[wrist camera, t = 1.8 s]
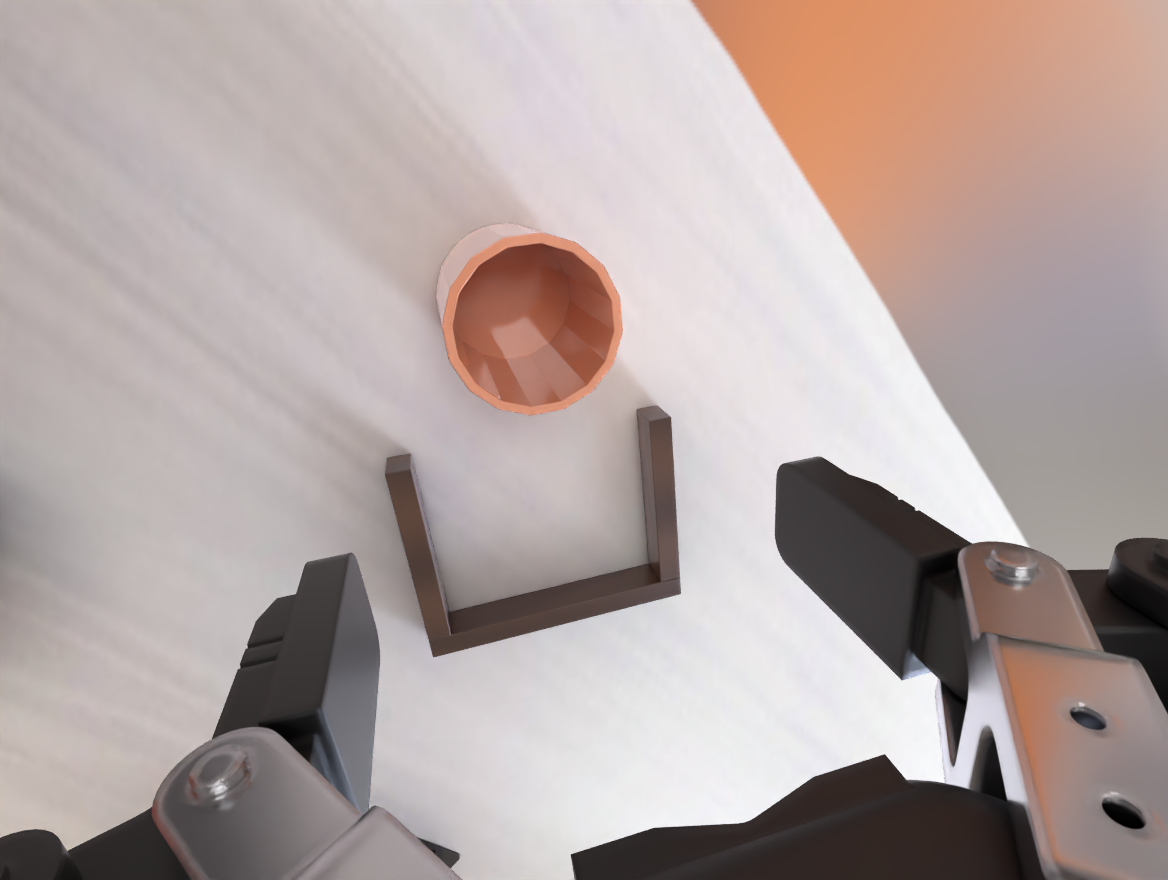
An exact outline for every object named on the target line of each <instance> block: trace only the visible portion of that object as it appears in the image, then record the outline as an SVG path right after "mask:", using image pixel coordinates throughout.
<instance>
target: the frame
mask: <svg viewBox="0 0 1168 880" xmlns="http://www.w3.org/2000/svg"><path fill="white" fill-rule="evenodd" d="M637 417H638V429H639V442H640V454H641V467H642V480H643V492H644V505H645V517H646V530H647V543H648V555H649V564H646V565H642V566H638V567H634V568H630V569H626V570H622V571H618V572H614V573H610V574H605V575H601V576H597V577H593V578H589V579H585V580H581V581H577V582H573V583H569V584H565V585H560V586H556V587H552V588H548V589H544V590H540V591H536V592H532V593H528V594H524V595H520V596H515V597H511V598H507V599H503V600H499V601H495V602H491V603H487V604H483V605H479V606H475V607H470V608H466V609H462V610H458V611H454V612H450V613H449V609H448V605H447V601H446V596H445V592H444V588H443V584H442V580H441V576H440V572H439V567H438V563H437V559H436V555H435V551H434V547H433V543H432V538H431V534H430V530H429V526H428V522H427V518H426V514H425V509H424V505H423V501H422V497H421V493H420V489H419V485H418V480H417V476H416V472H415V468H414V464H413V460H412V456H411V454H405V455H400V456H395V457H390V458H387V462H386V471H385V476H386V480H387V484H388V487H389V491H390V495H391V499H392V503H393V506H394V510H395V514H396V518H397V522H398V525H399V529H400V533H401V537H402V540H403V544H404V548H405V552H406V556H407V559H408V563H409V567H410V571H411V575H412V578H413V582H414V586H415V590H416V594H417V597H418V601H419V605H420V609H421V613H422V616H423V620H424V624H425V628H426V632H427V635H428V639H429V643H430V647H431V650H432V654H433V657H437V656H441V655H445V654H449V653H453V652H456V651H460V650H464V649H468V648H472V647H476V646H480V645H484V644H488V643H492V642H495V641H499V640H503V639H507V638H511V637H515V636H519V635H523V634H527V633H531V632H534V631H538V630H542V629H546V628H550V627H554V626H558V625H562V624H566V623H569V622H573V621H577V620H581V619H585V618H589V617H593V616H597V615H601V614H605V613H608V612H612V611H616V610H620V609H624V608H628V607H632V606H636V605H640V604H644V603H647V602H651V601H655V600H659V599H663V598H667V597H671V596H675V595H679V594H681V588H680V570H679V552H678V534H677V517H676V499H675V481H674V464H673V446H672V428H671V417H670V416H669V415H668V414H667V413H665V412H664V411H663V410H662V409H661V408H660V407H659V406H652V407H647V408H641V409H637Z"/></svg>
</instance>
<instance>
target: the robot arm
mask: <svg viewBox="0 0 1168 880" xmlns="http://www.w3.org/2000/svg"><path fill="white" fill-rule="evenodd" d="M775 539H776V544H777V548H778V550H779V553H780V555H781V557H782V559H783V560H784V562H785V563H786V564H787V566H788V567H789V568H790V569H791V570H792V571H793V572H794V573H795V574H796V575H797V576H798V577H799V578H800V579H801V580H802V581H803V582H804V583H805V584H806V585H807V586H808V587H809V588H810V589H811V590H812V591H813V592H814V593H815V594H816V595H817V596H818V597H819V598H820V599H821V600H822V601H823V602H824V603H825V604H826V605H827V606H828V607H829V608H830V609H831V610H832V611H833V612H834V613H835V614H836V615H837V616H838V617H839V618H840V619H841V620H842V621H843V622H844V623H845V624H846V625H847V626H848V627H849V628H850V629H851V630H852V631H853V632H854V633H855V634H856V635H857V636H858V637H859V638H860V639H861V640H862V641H863V642H864V643H865V644H866V645H867V646H868V647H869V648H870V649H871V650H872V651H873V652H874V653H875V654H876V655H877V656H878V657H879V658H880V659H881V660H882V661H883V662H884V663H885V664H886V665H887V666H888V667H889V668H890V669H891V670H892V671H893V672H894V673H895V674H896V675H897V676H898V677H899V678H900V679H901V680H905V679H909V678H912V677H915V676H919V675H922V674H926V673H929V672H932V673H933V674H934V675H936V676H937V677H938V679H937V685H936V691H935V699H936V707H937V716H938V725H939V734H940V743H941V752H942V761H943V770H944V779H945V783H939V782H933V781H920V780H906V779H905V778H904V777H903V775H902V774H901V773H900V772H899V771H898V770H897V768H896V767H895V766H894V765H893V764H892V762H891V761H890V760H889V759H888V758H887V756H886V755H885V754H884V755H881V756H878V757H875V758H872V759H869V760H866V761H863V762H859V763H856V764H853V765H850V766H847V767H844V768H841V769H837V770H834V771H831V772H828V773H825V774H822V775H819V776H815V777H813V778H812V779H810V780H809V781H807V782H806V783H804V784H803V785H802V786H800V787H799V788H797V789H796V790H794V791H793V792H791V793H790V794H789V795H787V796H786V797H784V798H783V799H781V800H780V801H778V802H777V803H776V804H774V805H773V806H771V807H770V808H768V809H767V810H765V811H764V812H763V813H761V814H760V815H758V816H757V817H755V818H754V819H752V820H750V821H748V822H745V823H739V824H721V825H701V826H682V827H662V828H652V829H649V830H646V831H643V832H640V833H637V834H633V835H630V836H627V837H624V838H621V839H618V840H615V841H612V842H608V843H605V844H602V845H599V846H596V847H593V848H590V849H586V850H583V851H580V852H577V853H574V854H571V859H572V865H573V872H574V878H575V880H1168V540H1166V539H1158V538H1134V539H1129V540H1125V541H1123V542H1120V543H1119V544H1118V545H1117V546H1116V548H1115V551H1114V554H1113V558H1112V562H1111V565H1110V568H1109V569H1107V570H1066V569H1065V568H1064V567H1063V566H1062V565H1061V564H1059V563H1058V562H1057V561H1056V560H1054V559H1053V558H1051V557H1049V556H1047V555H1045V554H1043V553H1041V552H1039V551H1036V550H1034V549H1031V548H1028V547H1024V546H1021V545H1016V544H1012V543H1005V542H979V543H974V544H972V543H970V542H968V541H967V540H965V539H964V538H962V537H960V536H959V535H957V534H956V533H954V532H952V531H951V530H949V529H948V528H946V527H945V526H943V525H941V524H940V523H938V522H937V521H935V520H933V519H932V518H930V517H929V516H927V515H926V514H924V513H922V512H921V511H915V508H914V507H913V506H911V505H910V504H908V503H907V502H905V501H903V500H898V497H897V496H895V495H894V494H892V493H891V492H889V491H887V490H886V489H884V488H883V487H881V486H880V485H878V484H876V483H873V482H870V481H867V480H864V479H861V478H858V477H855V476H852V475H849V474H847V473H846V472H844V471H843V470H841V469H840V468H838V467H837V466H835V465H834V464H832V463H831V462H829V461H827V460H826V459H824V458H822V457H813V458H808V459H803V460H798V461H793V462H789V463H784V464H782V465H781V466H780V467H779V469H778V472H777V479H776V513H775ZM247 645H248V649H245V652H244V655H243V657H242V660H241V663H240V669H238V671H237V673H236V676H235V679H234V681H233V684H232V687H231V689H230V692H229V695H228V697H227V700H226V703H225V705H224V708H223V711H222V713H221V716H220V719H219V721H218V724H217V727H216V730H215V732H214V735H213V738H212V740H210V741H208V742H206V743H205V744H203V745H201V746H200V747H198V748H197V749H195V750H194V751H193V752H191V753H190V754H188V755H187V756H186V757H185V758H184V759H183V760H181V761H180V762H179V763H178V764H177V765H176V766H175V767H174V768H173V769H172V770H171V772H170V773H169V774H168V775H167V777H166V778H165V779H164V781H163V782H162V784H161V785H160V787H159V789H158V791H157V793H156V795H155V798H154V800H153V806H152V807H151V808H150V809H148V810H147V811H145V812H143V813H141V814H140V815H138V816H136V817H134V818H132V819H130V820H128V821H126V822H124V823H122V824H120V825H118V826H116V827H114V828H112V829H110V830H108V831H106V832H104V833H102V834H100V835H98V836H96V837H94V838H92V839H90V840H88V841H86V842H84V843H82V844H80V845H78V846H76V847H74V848H72V849H70V850H68V851H67V850H66V849H65V847H64V846H63V844H62V843H61V841H60V839H59V838H58V837H57V836H56V835H55V834H53V833H52V832H49V831H46V830H37V829H34V830H25V831H20V832H16V833H12V834H9V835H7V836H4V837H1V838H0V880H462V879H461V878H460V877H459V876H458V875H457V874H456V873H455V872H454V871H453V870H451V869H450V868H449V867H448V866H447V865H446V864H445V863H444V862H443V861H442V860H441V859H439V858H438V857H437V856H436V855H435V854H434V853H433V852H432V851H431V850H430V849H429V848H427V847H426V846H425V845H424V844H423V843H422V842H421V841H420V840H419V839H418V838H417V837H415V836H414V835H413V834H412V833H411V832H410V831H409V830H408V829H407V828H406V827H405V826H403V825H402V824H401V823H400V822H399V821H398V820H397V819H396V818H395V817H394V816H392V815H391V814H390V813H389V812H387V811H386V810H385V809H383V808H381V807H379V806H373V807H372V808H370V809H369V797H370V784H371V771H372V758H373V745H374V732H375V719H376V706H377V693H378V680H379V667H380V649H379V640H378V634H377V629H376V625H375V621H374V618H373V614H372V611H371V607H370V604H369V600H368V597H367V593H366V589H365V586H364V582H363V579H362V575H361V572H360V568H359V565H358V562H357V559H356V557H355V555H354V554H353V553H348V554H343V555H339V556H334V557H329V558H324V559H319V560H315V561H310V562H307V563H306V564H305V566H304V570H303V573H302V576H301V580H300V583H299V586H298V590H297V593H296V594H295V595H290V596H286V597H281V598H277V599H276V600H275V601H274V602H273V603H272V604H271V605H270V607H269V608H268V609H267V610H266V611H265V612H264V613H263V614H262V615H261V616H260V617H259V619H258V620H257V621H256V623H255V625H254V628H253V631H252V633H251V636H250V639H249V641H248V644H247Z"/></svg>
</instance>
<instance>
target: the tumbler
mask: <svg viewBox="0 0 1168 880" xmlns="http://www.w3.org/2000/svg"><path fill="white" fill-rule="evenodd" d="M436 299H437V304H438V309H439V314H440V319H441V324H442V329H443V334H444V339H445V344H446V349H447V354H448V359H449V361H450V363H451V365H452V366H453V368H454V369H455V371H456V372H457V374H458V375H459V376H460V378H461V379H462V381H463V382H464V384H465V385H466V387H467V388H468V389H469V390H470V391H471V392H472V393H474V394H475V395H477V396H479V397H480V398H482V399H483V400H485V401H486V402H488V403H489V404H491V405H492V406H494V407H496V408H498V409H500V410H506V411H511V412H516V413H521V414H527V415H535V414H541V413H546V412H551V411H556V410H562V409H565V408H566V407H568V406H570V405H571V404H573V403H575V402H576V401H578V400H579V399H581V398H583V397H584V396H586V395H587V394H589V393H591V392H592V391H593V390H594V389H595V387H596V386H597V385H598V383H599V382H600V381H601V380H602V378H603V377H604V376H605V374H606V373H607V372H608V370H609V369H610V368H611V366H612V365H613V363H614V360H615V356H616V353H617V350H618V346H619V343H620V339H621V336H622V331H623V328H622V316H621V304H620V297H619V294H618V292H617V290H616V288H615V286H614V284H613V282H612V280H611V279H610V277H609V275H608V273H607V271H606V269H605V267H604V266H603V264H601V263H600V262H599V261H598V260H597V259H595V258H594V257H593V256H592V255H591V254H589V253H588V252H587V251H586V250H585V249H583V248H582V247H581V246H580V245H579V244H578V243H576V242H573V241H570V240H567V239H563V238H560V237H557V236H554V235H551V234H547V233H544V232H541V231H538V230H534V229H531V228H527V227H524V226H521V225H517V224H514V223H506V224H493V225H488V226H484V227H481V228H479V229H477V230H475V231H473V232H471V233H469V234H468V235H466V236H465V237H463V238H462V239H461V240H460V241H459V242H457V244H456V245H455V246H454V247H453V248H452V249H451V251H450V252H449V253H448V255H447V257H446V258H445V260H444V262H443V264H442V266H441V269H440V273H439V277H438V282H437V290H436Z"/></svg>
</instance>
